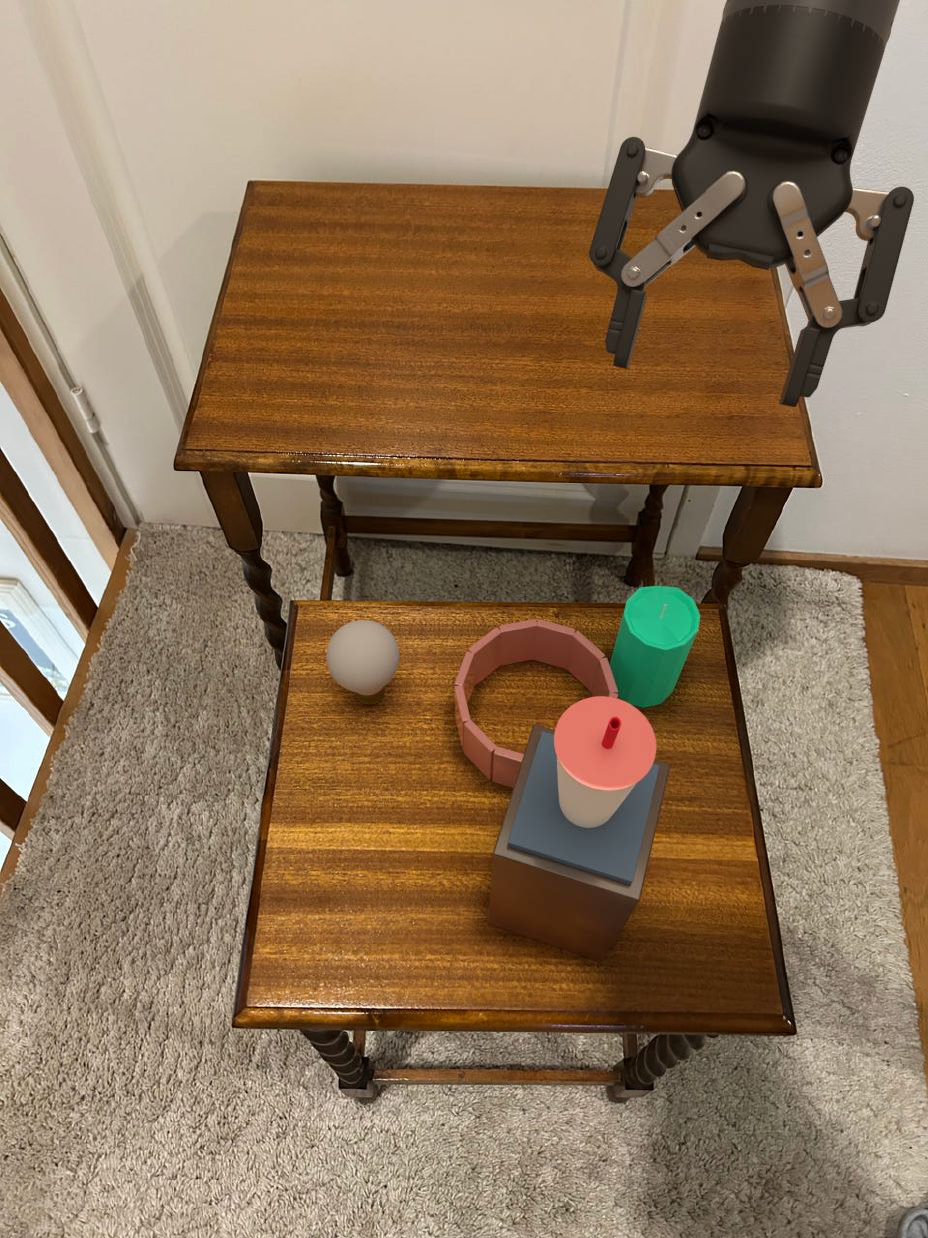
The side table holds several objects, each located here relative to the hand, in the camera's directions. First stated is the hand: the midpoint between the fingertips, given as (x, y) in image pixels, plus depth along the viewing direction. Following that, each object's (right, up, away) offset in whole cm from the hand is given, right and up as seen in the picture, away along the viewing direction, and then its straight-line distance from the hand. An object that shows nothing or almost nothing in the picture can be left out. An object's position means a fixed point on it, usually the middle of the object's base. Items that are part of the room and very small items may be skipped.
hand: (703, 386), depth 47 cm
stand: (-5, -33, +26) cm, 42 cm away
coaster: (-5, -23, +10) cm, 26 cm away
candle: (+4, -17, +35) cm, 39 cm away
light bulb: (-20, -19, +34) cm, 44 cm away
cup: (-5, -23, +10) cm, 25 cm away
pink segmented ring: (-6, -21, +33) cm, 39 cm away
